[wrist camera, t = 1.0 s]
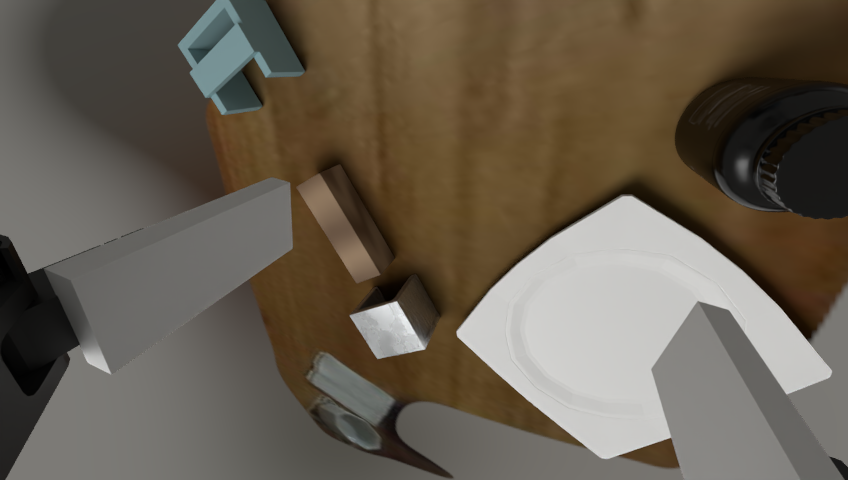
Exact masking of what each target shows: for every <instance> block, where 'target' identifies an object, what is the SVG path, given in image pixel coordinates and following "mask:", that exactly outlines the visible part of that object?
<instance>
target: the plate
mask: <svg viewBox="0 0 848 480" xmlns="http://www.w3.org/2000/svg"><path fill="white" fill-rule="evenodd" d="M697 301H700V302H703V303H707V304H710V305H714V306H717V307H720V308H724V309H727V310H729V311H730V312H731V314H732V315H733V317H734V318H735V320H736V321H737V322H738V324H739V325H740V327H741V328H742V330H743V331H744V333H745V334H746V336H747V337H748V339H749V340H750V342H751V343H752V345H753V346H754V347H755V349H756V350H757V352H758V353H759V355H760V356H761V358H762V359H763V361H764V362H765V364H766V365H767V367H768V368H769V369H770V371H771V372H772V374H773V375H774V377H775V378H776V380H777V381H778V383H779V384H780V386H781V387H782V389H783V390H784V391H785V393H786V394H788V393H791V392H794V391H796V390H799V389H802V388H804V387H807V386H809V385H812V384H814V383H817V382H819V381H822V380H825V379H827V378H829V377H830V376H831V373H832V370H831V369H830V368H829V366H828V365H827V364H826V363H825V361H824V360H823V359H822V358H821V357H820V355H819V354H818V353H817V352H816V350H815V349H814V348H813V347H812V346H811V344H810V343H809V342H808V341H807V340H806V338H805V337H804V336H803V335H802V333H801V332H800V331H799V330H798V329H797V327H796V326H795V325H794V324H793V322H792V321H791V320H790V319H789V318H788V316H787V315H786V314H785V313H784V311H783V310H782V309H781V308H780V307H779V306H778V305H777V304H776V303H775V302H774V301H773V300H772V299H771V298H770V297H769V296H768V295H767V294H766V293H765V292H764V291H763V290H762V289H761V288H760V287H759V286H758V285H757V284H756V283H755V282H754V281H753V280H752V279H751V278H750V277H749V276H748V275H747V274H746V273H745V272H744V271H743V270H742V269H741V268H739V267H738V266H737V265H736V264H734V263H733V262H732V261H730V260H729V259H728V258H727V257H725V256H724V255H723V254H721V253H720V252H719V251H718V250H716V249H715V248H714V247H713V246H711V245H710V244H709V243H707V242H706V241H705V240H704V239H702V238H701V237H700V236H698V235H696V234H695V233H693V232H691V231H690V230H688V229H687V228H685V227H683V226H682V225H680V224H679V223H677V222H675V221H674V220H672V219H671V218H669V217H667V216H666V215H664V214H663V213H661V212H659V211H658V210H656V209H654V208H653V207H651V206H650V205H648V204H646V203H645V202H643V201H642V200H640V199H638V198H637V197H635V196H634V195H632V194H627V195H620V196H619V197H617V198H615V199H614V200H612V201H610V202H609V203H607V204H605V205H604V206H602V207H600V208H599V209H597V210H595V211H594V212H592V213H590V214H588V215H587V216H585V217H583V218H582V219H580V220H578V221H577V222H575V223H573V224H572V225H570V226H568V227H567V228H565V229H563V230H562V231H560V232H558V233H557V234H555V235H553V236H552V237H550V238H549V239H548V240H546V241H545V242H544V243H542V244H541V245H540V246H539V247H537V248H536V249H535V250H534V251H532V252H531V253H530V254H528V255H527V256H526V257H525V258H523V259H522V260H521V261H520V262H518V263H517V264H516V265H515V266H514V267H513V268H512V269H511V270H510V271H509V272H507V273H506V274H505V275H504V276H503V277H502V278H501V279H500V280H499V281H498V282H497V283H496V284H495V285H494V286H493V287H491V289H490V290H489V291H488V292H487V294H486V295H485V296H484V297H483V298H482V300H481V301H480V302H479V303H478V305H477V306H476V307H475V308H474V310H473V311H472V312H471V313H470V314H469V316H468V317H467V318H466V319H465V321H464V322H463V323H462V324H461V326H460V327H459V328H458V329H457V337H458V338H459V339H461V340H462V341H463V342H464V343H465V344H466V345H467V346H468V347H469V348H470V349H471V350H472V351H474V352H475V353H476V354H477V355H478V356H479V357H480V358H481V359H482V360H483V361H484V362H485V363H487V364H488V365H489V366H490V367H491V368H492V369H493V370H494V371H495V372H496V373H497V374H499V375H500V376H501V377H502V378H503V379H504V380H505V381H507V382H508V383H509V384H510V385H511V386H512V387H513V388H514V389H516V390H517V391H518V392H519V393H520V394H521V395H522V396H524V397H525V398H526V399H527V400H528V401H530V402H531V403H532V404H533V405H535V406H536V407H537V408H538V409H540V410H541V411H542V412H543V413H544V414H546V415H547V416H548V417H549V418H551V419H552V420H553V421H554V422H556V423H557V424H558V425H559V426H561V427H562V428H563V429H565V430H566V431H567V432H568V433H570V434H571V435H572V436H573V437H575V438H576V439H577V440H579V441H580V442H581V443H582V444H584V445H585V446H586V447H587V448H589V449H590V450H591V451H592V452H594V453H595V454H596V455H598V456H599V457H600V458H604V459H609V458H612V457H615V456H618V455H621V454H624V453H627V452H630V451H633V450H636V449H639V448H642V447H645V446H648V445H651V444H653V443H656V442H659V441H662V440H665V439H668V438H671V435H670V431H669V428H668V425H667V421H666V418H665V414H664V411H663V408H662V404H661V401H660V398H659V394H658V391H657V387H656V384H655V381H654V377H653V374H652V371H651V369H652V367H653V366H654V364H655V363H656V361H657V360H658V358H659V357H660V355H661V354H662V352H663V351H664V350H665V348H666V347H667V345H668V344H669V342H670V341H671V339H672V338H673V336H674V335H675V333H676V332H677V330H678V329H679V327H680V326H681V325H682V323H683V322H684V320H685V319H686V317H687V316H688V314H689V313H690V311H691V310H692V308H693V307H694V305H695V304H696V302H697Z"/></svg>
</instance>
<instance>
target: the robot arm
mask: <svg viewBox="0 0 848 480" xmlns="http://www.w3.org/2000/svg"><path fill="white" fill-rule="evenodd" d="M292 248H293V243H292V220H291V198H290V182H286V181H283V180H279V179H276V178H272V177H271V178H269V179H266V180H264V181H261V182H259V183H256V184H254V185H251V186H249V187H246V188H244V189H241V190H239V191H236V192H234V193H231V194H229V195H226V196H224V197H221V198H219V199H216V200H214V201H211V202H209V203H206V204H204V205H201V206H199V207H196V208H194V209H191V210H189V211H186V212H184V213H181V214H179V215H176V216H174V217H171V218H169V219H166V220H164V221H161V222H159V223H156V224H154V225H151V226H149V227H146V228H143V229H140V230H137V231H135V232H132V233H130V234H127V235H125V236H122V237H121V238H119V239H114V240H112V241H109V242H107V243H105V244H104V245H101V246H97V247H94V248H92V249H89V250H87V251H84V252H82V253H79V254H77V255H74V256H72V257H69V258H67V259H64V260H62V261H59V262H57V263H54V264H52V265H49V266H47V267H44V268H42V269H39V270H37V271H34V272H31V273H28V274H27V272H26V270H25V268H24V266H23V264H22V262H21V260H20V258H19V256H18V254H17V252H16V250H15V248H14V246H13V244H12V242H11V240H10V239H9V238H8V237H6V236H3V235H0V480H5V479H6V477H7V476H8V474H9V472H10V470H11V468H12V467H13V465H14V463H15V461H16V459H17V457H18V456H19V454H20V452H21V450H22V449H23V447H24V445H25V443H26V441H27V440H28V438H29V436H30V434H31V432H32V431H33V429H34V427H35V425H36V423H37V421H38V420H39V418H40V416H41V414H42V413H43V411H44V409H45V407H46V405H47V403H48V402H49V400H50V398H51V396H52V395H53V393H54V391H55V389H56V387H57V386H58V384H59V382H60V380H61V378H62V376H63V374H64V373H65V371H66V369H67V367H68V365H69V361H70V358H69V356H68V354H67V352H68V351H70V350H71V349H73V348H75V347H77V346H78V345H80V347H81V349H82V352H83V353H84V356H85V358H86V360H87V362H88V363H89V364H91V365H93V366H95V367H97V368H99V369H101V370H103V371H105V372H107V373H109V374H113V373H115V372H116V371H117V370H119V369H120V368H122V367H123V366H125V365H126V364H128V363H129V362H130V361H132V360H133V359H135V358H136V357H138V356H139V355H140V354H142V353H143V352H145V351H146V350H148V349H149V348H150V347H152V346H153V345H155V344H156V343H158V342H159V341H160V340H162V339H163V338H165V337H166V336H168V335H169V334H170V333H172V332H173V331H175V330H176V329H178V328H179V327H181V326H182V325H183V324H185V323H186V322H188V321H189V320H191V319H192V318H194V317H195V316H196V315H198V314H199V313H201V312H202V311H204V310H205V309H206V308H208V307H209V306H211V305H212V304H214V303H215V302H216V301H218V300H219V299H221V298H222V297H223V296H225V295H227V294H228V293H229V292H231V291H232V290H234V289H235V288H236V287H238V286H239V285H241V284H242V283H244V282H245V281H246V280H248V279H249V278H251V277H252V276H254V275H255V274H257V273H258V272H259V271H261V270H262V269H264V268H265V267H267V266H268V265H270V264H271V263H272V262H274V261H275V260H277V259H278V258H280V257H281V256H282V255H284V254H285V253H287V252H288V251H290V250H291V249H292ZM651 371H652V374H653V377H654V381H655V384H656V387H657V391H658V394H659V398H660V401H661V404H662V408H663V411H664V414H665V418H666V421H667V425H668V428H669V431H670V435H671V438H672V441H673V445H674V448H675V452H676V455H677V458H678V462H679V465H680V468H681V472H682V475H683V479H684V480H848V467H847V466H846V465H845V464H844V463H843V462H842V461H841V460H838V459H835V458H832V457H829V456H828V455H827V453H826V452H825V450H824V449H823V447H822V446H821V444H820V443H819V441H818V440H817V439H816V437H815V436H814V434H813V433H812V431H811V430H810V428H809V427H808V425H807V424H806V422H805V421H804V419H803V418H802V416H801V415H800V414H799V412H798V411H797V409H796V408H795V406H794V405H793V404H792V402H791V400H790V399H789V397H788V396H787V394H786V393H785V391H784V390H783V389H782V387H781V386H780V384H779V383H778V381H777V380H776V378H775V377H774V375H773V374H772V372H771V371H770V369H769V368H768V367H767V365H766V364H765V362H764V361H763V359H762V358H761V356H760V355H759V353H758V352H757V350H756V349H755V347H754V346H753V345H752V343H751V342H750V340H749V339H748V337H747V336H746V334H745V333H744V331H743V330H742V328H741V327H740V325H739V324H738V322H737V321H736V320H735V318H734V317H733V315H732V314H731V312H730V311H729V310H727V309H724V308H720V307H717V306H714V305H710V304H707V303H703V302H700V301H697V302H696V304H695V305H694V307H693V308H692V310H691V311H690V313H689V314H688V316H687V317H686V319H685V320H684V322H683V323H682V325H681V326H680V327H679V329H678V330H677V332H676V333H675V335H674V336H673V338H672V339H671V341H670V342H669V344H668V345H667V347H666V348H665V350H664V351H663V352H662V354H661V355H660V357H659V358H658V360H657V361H656V363H655V364H654V366H653V367H652V369H651Z"/></svg>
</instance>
